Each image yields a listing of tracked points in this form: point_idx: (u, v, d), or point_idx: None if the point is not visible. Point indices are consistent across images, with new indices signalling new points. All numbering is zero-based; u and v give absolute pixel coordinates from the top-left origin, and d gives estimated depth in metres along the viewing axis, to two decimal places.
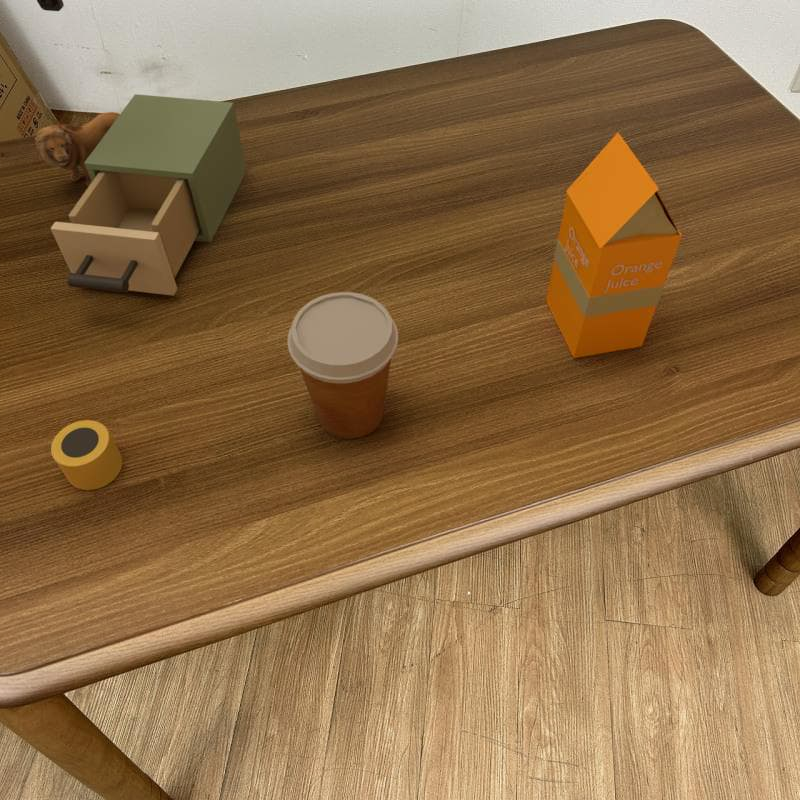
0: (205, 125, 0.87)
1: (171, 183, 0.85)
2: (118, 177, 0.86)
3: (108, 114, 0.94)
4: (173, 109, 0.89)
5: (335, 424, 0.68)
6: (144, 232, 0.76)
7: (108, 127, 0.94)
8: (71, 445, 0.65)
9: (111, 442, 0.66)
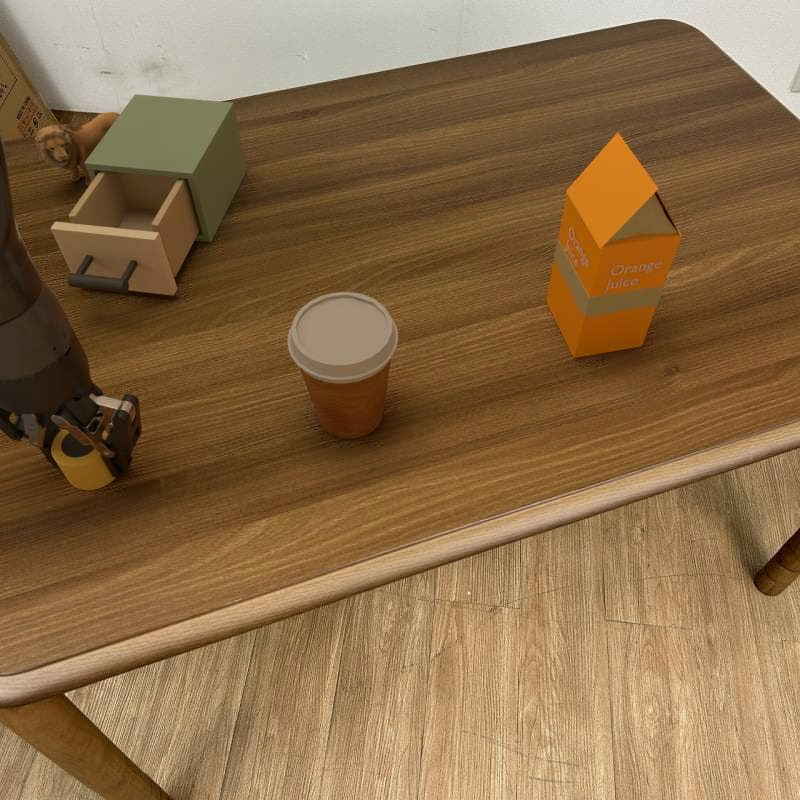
0: (205, 125, 0.87)
1: (171, 183, 0.85)
2: (118, 177, 0.86)
3: (108, 115, 0.94)
4: (173, 109, 0.89)
5: (335, 424, 0.68)
6: (144, 232, 0.76)
7: (108, 127, 0.94)
8: (71, 445, 0.65)
9: None
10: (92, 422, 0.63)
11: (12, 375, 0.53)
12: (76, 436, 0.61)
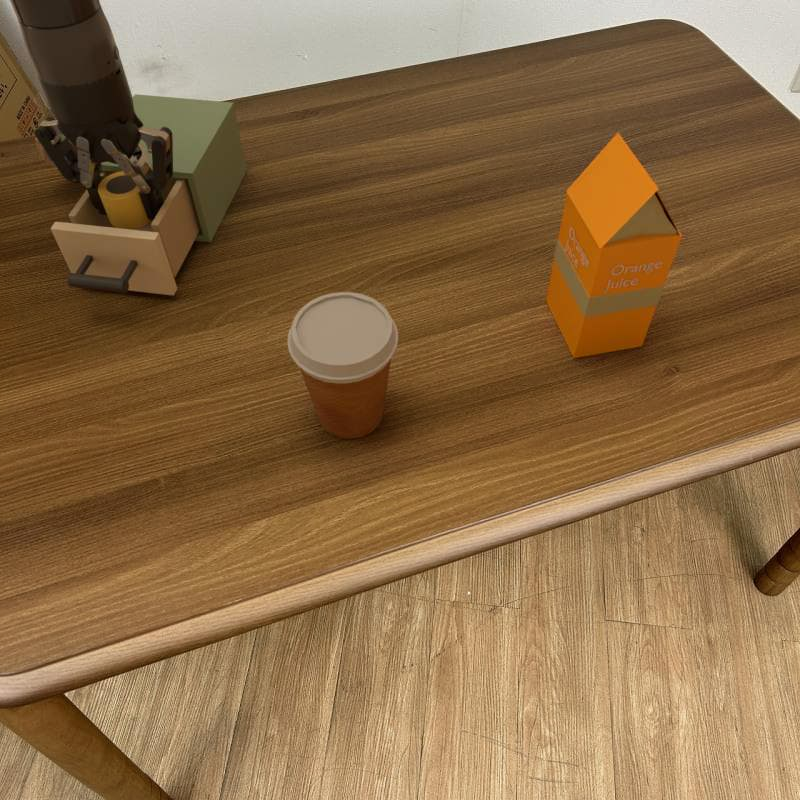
0: (205, 125, 0.87)
1: (171, 183, 0.85)
2: None
3: None
4: (173, 109, 0.89)
5: (335, 424, 0.68)
6: (144, 232, 0.76)
7: None
8: (114, 186, 0.78)
9: None
10: (133, 160, 0.76)
11: (75, 80, 0.66)
12: (120, 165, 0.74)
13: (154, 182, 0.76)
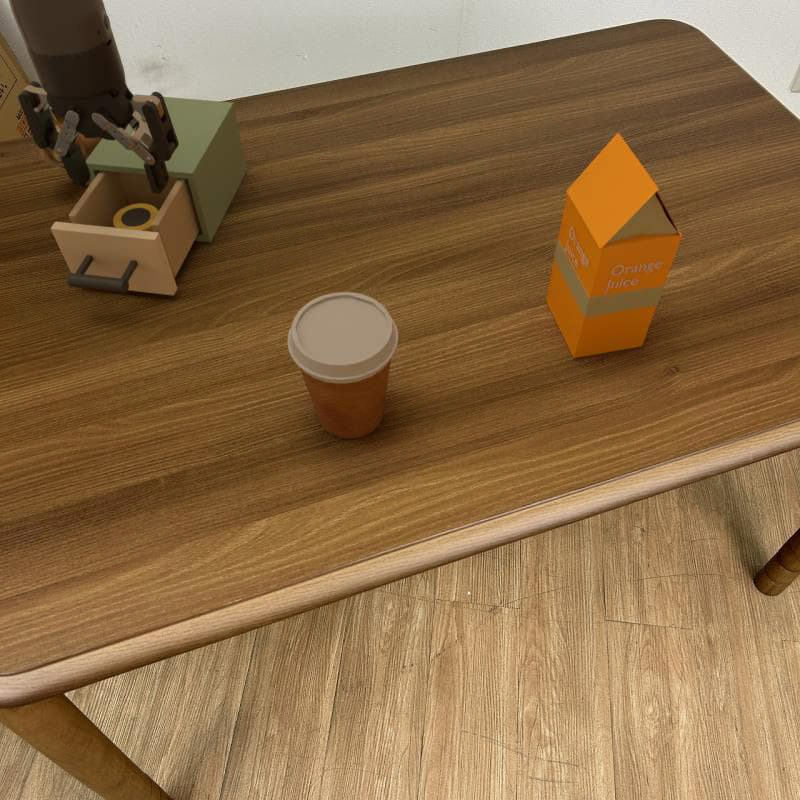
0: (205, 125, 0.87)
1: (171, 183, 0.85)
2: (118, 177, 0.86)
3: None
4: (173, 109, 0.89)
5: (335, 424, 0.68)
6: (144, 232, 0.76)
7: None
8: (129, 219, 0.82)
9: None
10: (132, 133, 0.74)
11: (64, 50, 0.64)
12: (118, 139, 0.72)
13: (159, 153, 0.73)
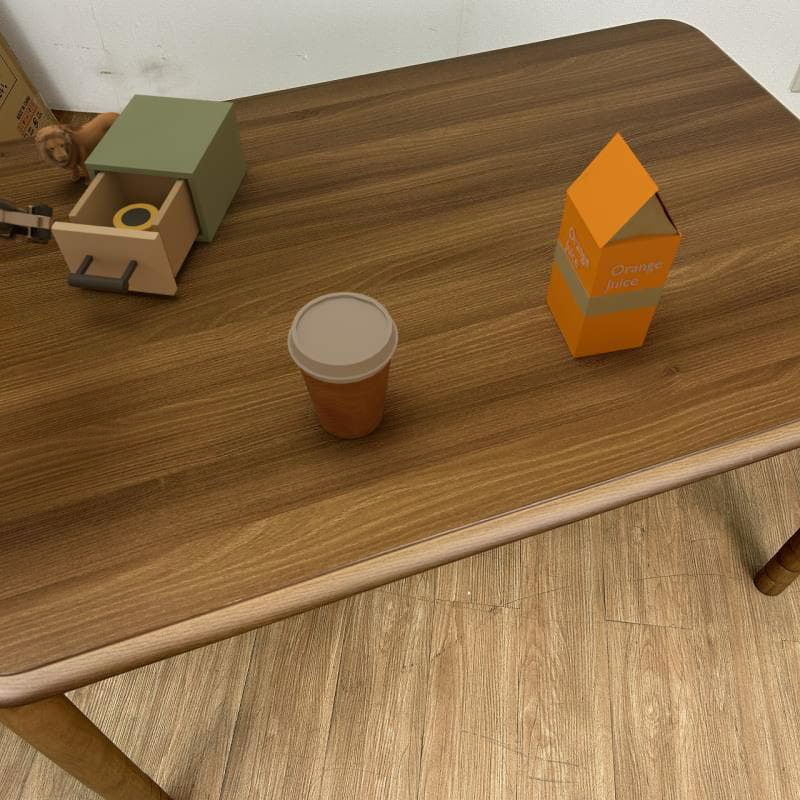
0: (205, 125, 0.87)
1: (171, 183, 0.85)
2: (118, 177, 0.86)
3: (108, 114, 0.94)
4: (173, 109, 0.89)
5: (335, 424, 0.68)
6: (144, 232, 0.76)
7: (108, 127, 0.94)
8: (129, 219, 0.82)
9: None
10: None
11: None
12: None
13: (28, 240, 0.60)
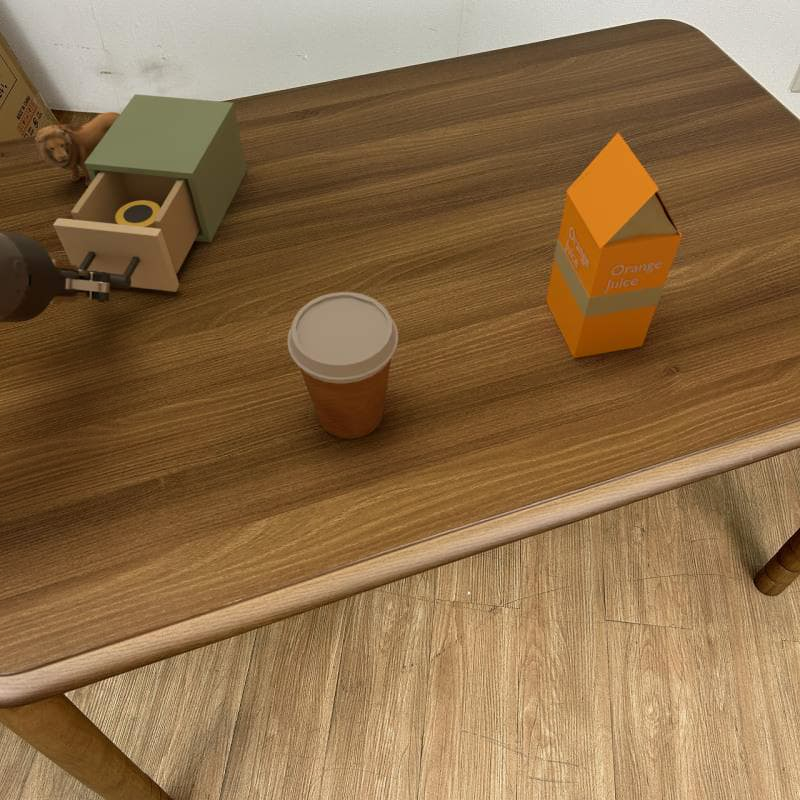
0: (205, 125, 0.87)
1: (173, 180, 0.86)
2: (120, 174, 0.86)
3: (108, 115, 0.94)
4: (173, 109, 0.89)
5: (335, 424, 0.68)
6: (146, 228, 0.76)
7: (108, 127, 0.94)
8: (131, 216, 0.82)
9: None
10: None
11: None
12: None
13: None
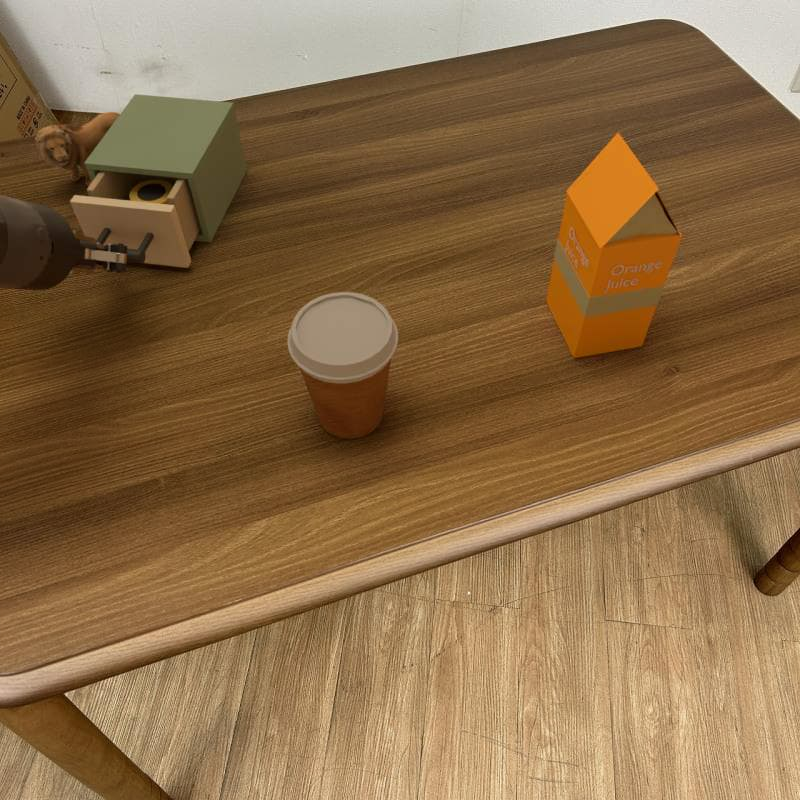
0: (205, 125, 0.87)
1: None
2: None
3: (108, 114, 0.94)
4: (173, 109, 0.89)
5: (335, 424, 0.68)
6: (160, 204, 0.79)
7: (108, 127, 0.94)
8: (144, 194, 0.84)
9: None
10: None
11: (18, 286, 0.62)
12: None
13: (104, 269, 0.73)
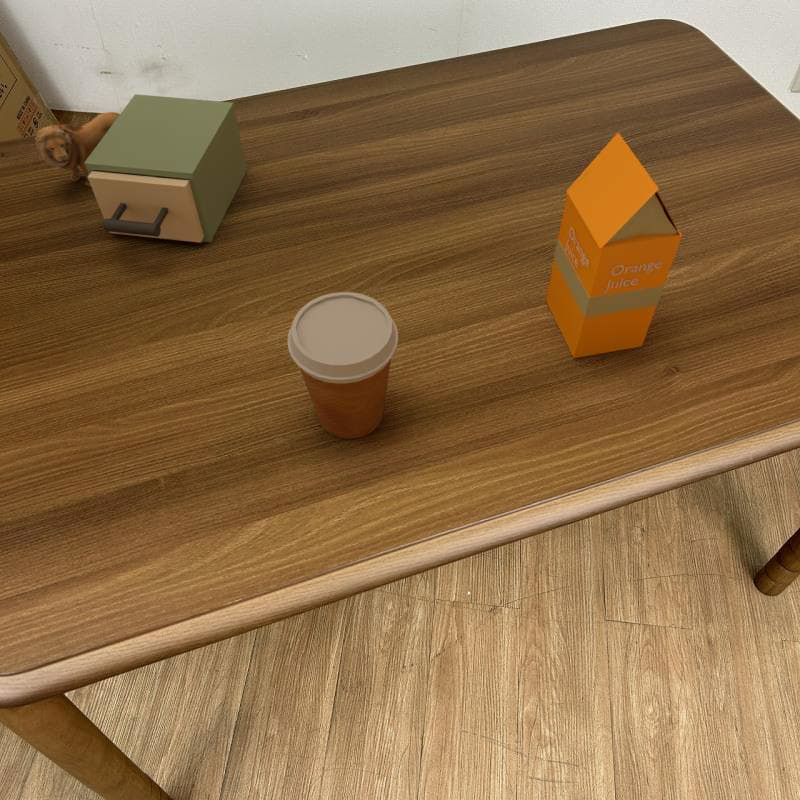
0: (205, 125, 0.87)
1: None
2: None
3: (108, 114, 0.94)
4: (173, 109, 0.89)
5: (335, 424, 0.68)
6: (175, 179, 0.81)
7: (108, 127, 0.94)
8: None
9: None
10: None
11: None
12: None
13: None
